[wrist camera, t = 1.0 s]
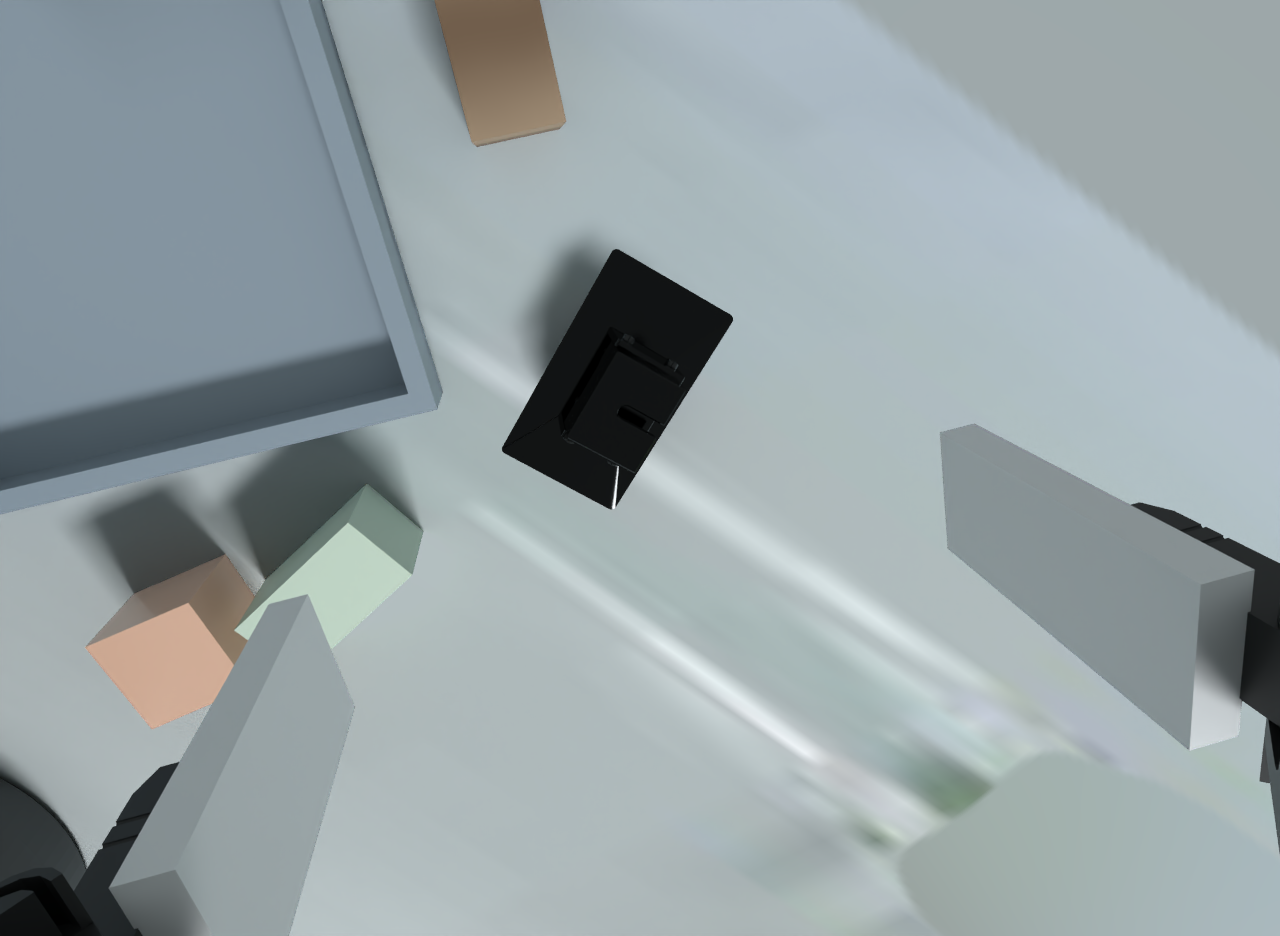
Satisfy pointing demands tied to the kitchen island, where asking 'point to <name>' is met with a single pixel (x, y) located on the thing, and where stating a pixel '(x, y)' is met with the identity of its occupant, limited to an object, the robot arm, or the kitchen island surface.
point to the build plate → (616, 380)
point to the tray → (187, 244)
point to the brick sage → (344, 566)
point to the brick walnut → (502, 68)
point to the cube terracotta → (176, 641)
